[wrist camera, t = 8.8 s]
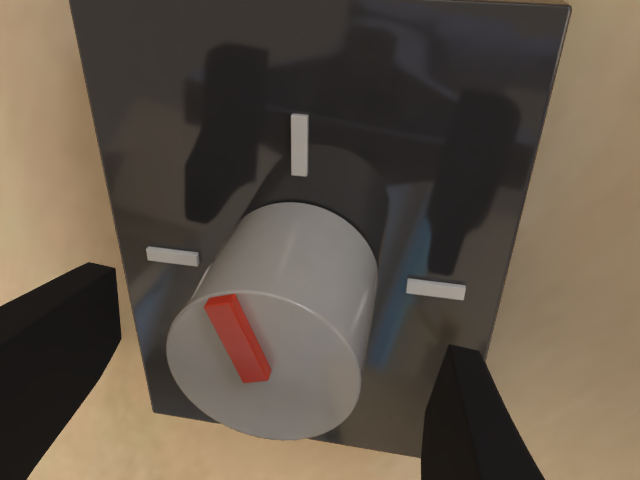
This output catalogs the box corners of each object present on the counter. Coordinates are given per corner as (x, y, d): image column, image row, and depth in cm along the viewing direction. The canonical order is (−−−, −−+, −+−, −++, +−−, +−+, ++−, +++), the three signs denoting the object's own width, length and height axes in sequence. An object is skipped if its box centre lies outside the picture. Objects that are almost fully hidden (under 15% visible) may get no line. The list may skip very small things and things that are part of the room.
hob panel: (457, 401, 19) (460, 470, 16) (183, 358, 20) (149, 417, 18) (549, -13, 12) (576, 6, 10) (124, -32, 13) (58, -19, 11)
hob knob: (396, 321, 14) (383, 447, 11) (257, 341, 15) (208, 458, 12) (352, 185, 12) (320, 285, 9) (199, 219, 14) (122, 318, 10)
